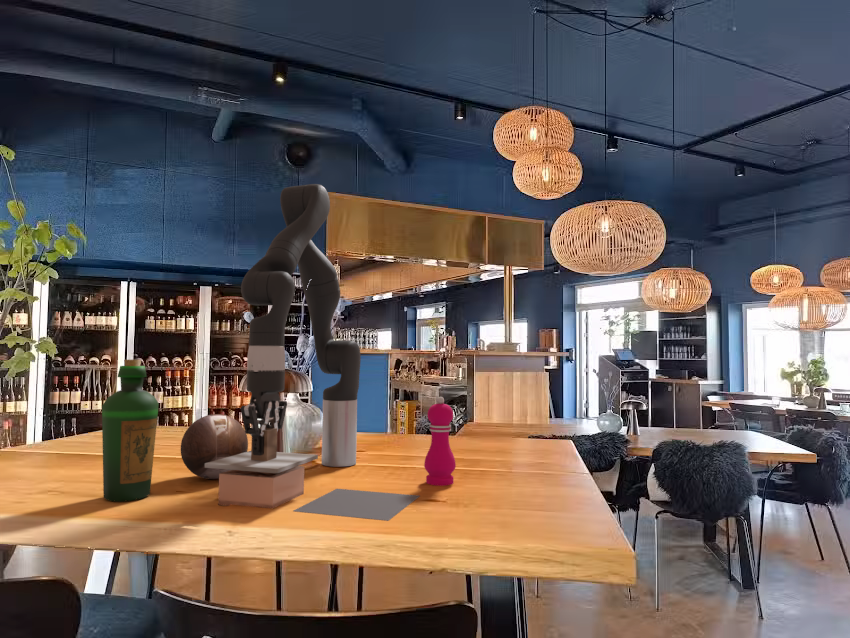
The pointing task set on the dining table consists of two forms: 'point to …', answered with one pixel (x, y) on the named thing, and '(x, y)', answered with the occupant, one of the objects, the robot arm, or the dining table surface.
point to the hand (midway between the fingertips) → (263, 452)
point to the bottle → (129, 436)
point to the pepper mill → (440, 445)
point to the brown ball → (212, 443)
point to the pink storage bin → (260, 487)
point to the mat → (359, 504)
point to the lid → (263, 458)
